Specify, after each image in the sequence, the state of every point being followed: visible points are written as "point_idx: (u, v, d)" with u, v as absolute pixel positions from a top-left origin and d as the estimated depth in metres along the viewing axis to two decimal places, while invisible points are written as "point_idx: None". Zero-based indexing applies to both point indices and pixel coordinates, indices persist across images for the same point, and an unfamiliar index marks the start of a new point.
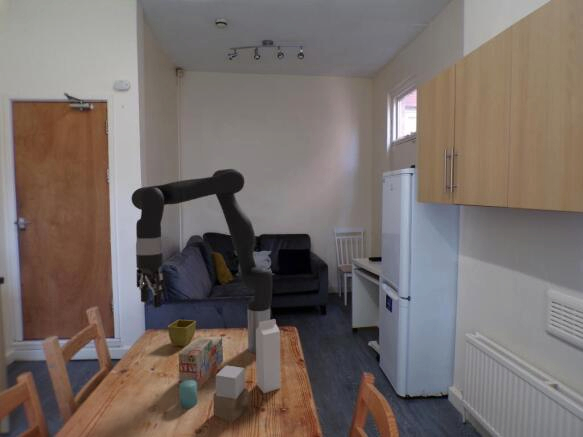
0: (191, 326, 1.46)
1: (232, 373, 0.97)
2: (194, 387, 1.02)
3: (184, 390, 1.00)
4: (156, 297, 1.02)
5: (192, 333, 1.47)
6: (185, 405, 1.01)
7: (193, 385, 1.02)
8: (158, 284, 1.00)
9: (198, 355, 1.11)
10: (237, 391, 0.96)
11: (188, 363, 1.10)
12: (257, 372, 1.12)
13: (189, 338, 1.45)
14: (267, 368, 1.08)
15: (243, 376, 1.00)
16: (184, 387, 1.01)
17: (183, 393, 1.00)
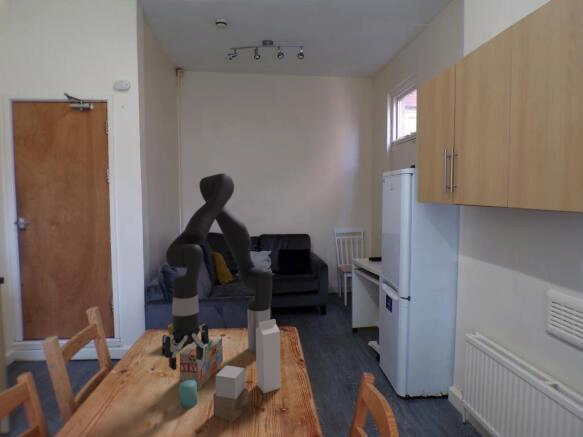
0: None
1: (232, 373, 0.97)
2: (194, 387, 1.02)
3: (184, 390, 1.00)
4: (202, 349, 1.06)
5: None
6: (185, 405, 1.01)
7: (193, 385, 1.02)
8: None
9: None
10: (237, 391, 0.96)
11: (189, 363, 1.10)
12: (257, 372, 1.12)
13: None
14: (267, 368, 1.08)
15: (243, 376, 1.00)
16: (184, 387, 1.01)
17: (183, 393, 1.00)
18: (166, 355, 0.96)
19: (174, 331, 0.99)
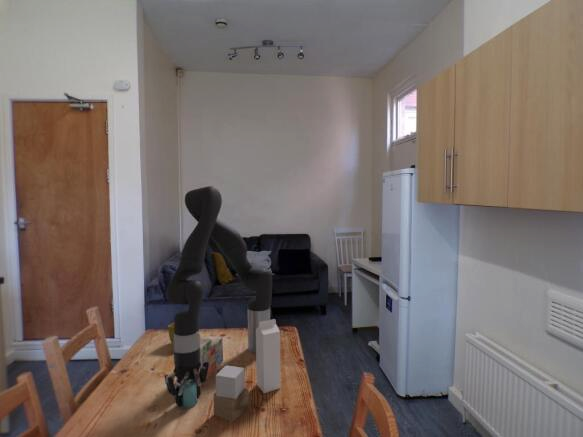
0: None
1: (232, 373, 0.97)
2: (194, 387, 1.02)
3: (184, 390, 1.00)
4: (199, 387, 1.05)
5: None
6: (185, 405, 1.01)
7: (193, 385, 1.02)
8: None
9: None
10: (237, 391, 0.96)
11: None
12: (257, 372, 1.12)
13: None
14: (267, 368, 1.08)
15: (243, 376, 1.00)
16: (184, 387, 1.01)
17: (183, 393, 1.00)
18: (173, 394, 0.98)
19: (175, 368, 1.00)
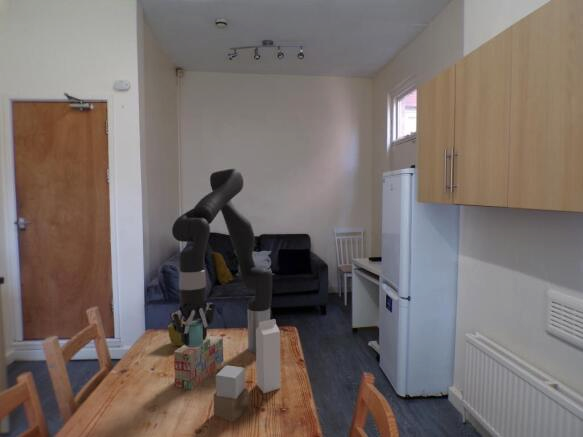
0: None
1: (233, 373, 0.97)
2: (200, 326, 1.00)
3: (190, 328, 0.99)
4: (205, 328, 1.03)
5: None
6: (191, 344, 0.99)
7: (199, 324, 1.01)
8: None
9: (192, 354, 1.11)
10: (238, 391, 0.96)
11: (182, 362, 1.11)
12: (257, 372, 1.12)
13: None
14: (267, 368, 1.08)
15: (243, 376, 1.00)
16: (190, 326, 1.00)
17: (189, 332, 0.99)
18: (178, 331, 0.96)
19: (181, 305, 0.98)
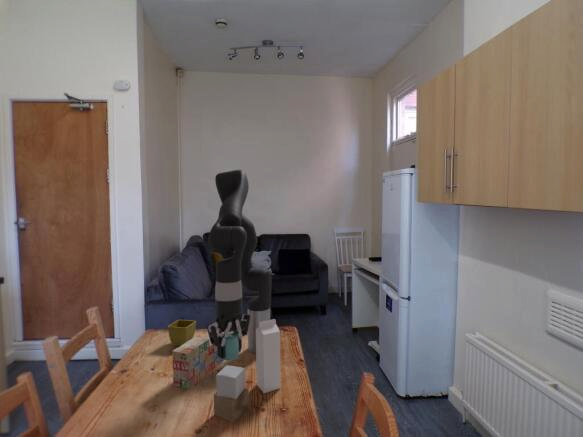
0: (191, 326, 1.46)
1: (233, 373, 0.97)
2: (236, 338, 0.97)
3: (227, 341, 0.95)
4: (240, 340, 1.00)
5: (192, 333, 1.47)
6: (227, 357, 0.96)
7: (235, 337, 0.97)
8: None
9: (190, 354, 1.12)
10: (238, 391, 0.96)
11: (180, 361, 1.11)
12: (257, 372, 1.12)
13: (189, 338, 1.45)
14: (267, 368, 1.08)
15: (243, 376, 1.00)
16: (226, 338, 0.96)
17: (225, 344, 0.95)
18: (216, 344, 0.93)
19: (218, 317, 0.95)
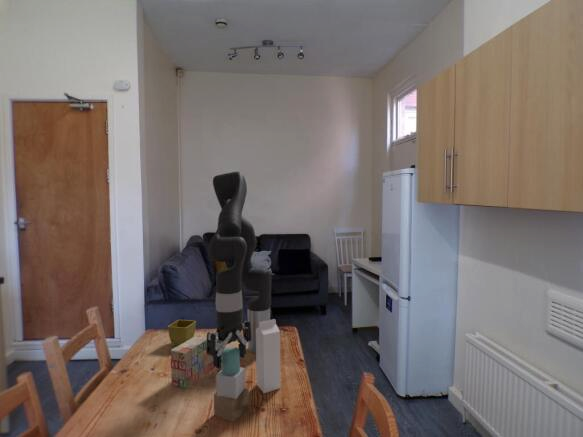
0: (191, 326, 1.46)
1: None
2: (237, 353, 0.97)
3: (228, 356, 0.96)
4: (245, 346, 1.01)
5: (192, 333, 1.47)
6: (228, 372, 0.96)
7: (236, 351, 0.97)
8: None
9: (188, 353, 1.12)
10: (238, 391, 0.96)
11: (178, 361, 1.12)
12: (257, 372, 1.12)
13: (189, 338, 1.45)
14: (267, 368, 1.08)
15: (243, 376, 1.00)
16: (227, 353, 0.96)
17: (226, 360, 0.96)
18: (211, 353, 0.92)
19: (218, 328, 0.95)
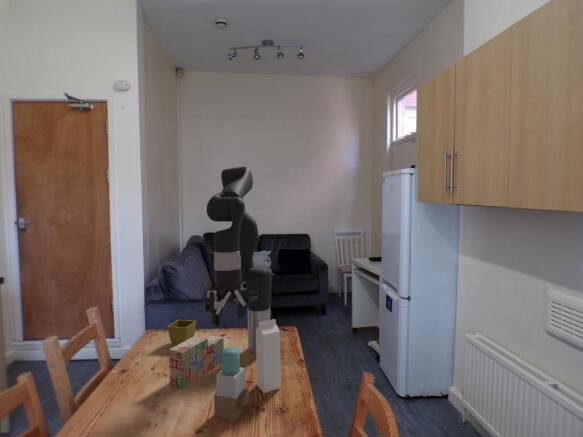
0: (191, 326, 1.46)
1: None
2: (237, 353, 0.97)
3: (228, 356, 0.96)
4: (243, 307, 1.02)
5: (192, 333, 1.47)
6: (228, 372, 0.96)
7: (236, 351, 0.97)
8: None
9: (186, 353, 1.12)
10: (238, 391, 0.96)
11: (176, 360, 1.12)
12: (257, 372, 1.12)
13: (189, 338, 1.45)
14: (267, 368, 1.08)
15: (244, 376, 1.00)
16: (227, 353, 0.96)
17: (226, 359, 0.96)
18: (210, 311, 0.92)
19: (217, 287, 0.95)
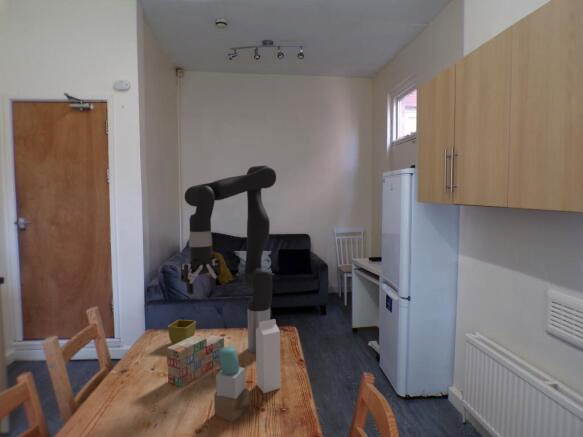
0: (191, 326, 1.46)
1: None
2: (235, 351, 0.97)
3: (227, 355, 0.95)
4: (215, 280, 1.20)
5: (192, 333, 1.47)
6: (229, 371, 0.96)
7: (234, 349, 0.98)
8: None
9: (183, 352, 1.13)
10: (238, 391, 0.96)
11: (173, 359, 1.13)
12: (257, 372, 1.12)
13: None
14: (267, 368, 1.08)
15: (244, 376, 1.00)
16: (225, 353, 0.96)
17: (225, 359, 0.96)
18: (185, 280, 1.11)
19: (191, 261, 1.14)
